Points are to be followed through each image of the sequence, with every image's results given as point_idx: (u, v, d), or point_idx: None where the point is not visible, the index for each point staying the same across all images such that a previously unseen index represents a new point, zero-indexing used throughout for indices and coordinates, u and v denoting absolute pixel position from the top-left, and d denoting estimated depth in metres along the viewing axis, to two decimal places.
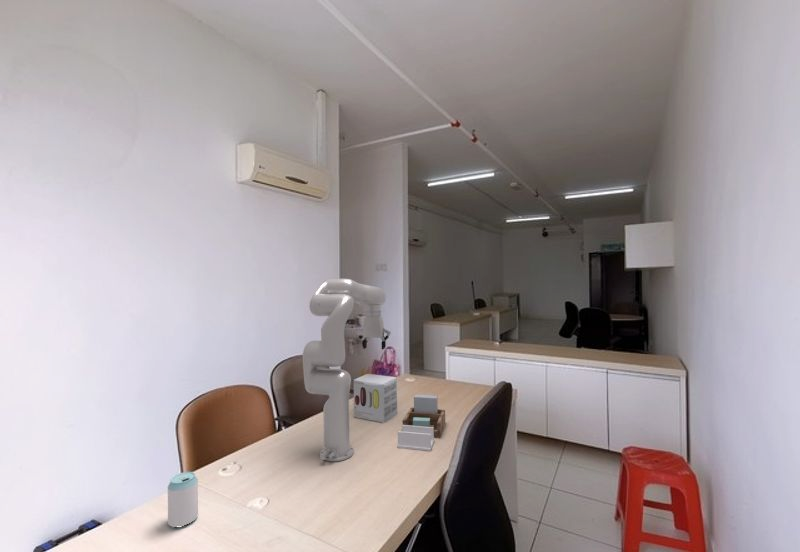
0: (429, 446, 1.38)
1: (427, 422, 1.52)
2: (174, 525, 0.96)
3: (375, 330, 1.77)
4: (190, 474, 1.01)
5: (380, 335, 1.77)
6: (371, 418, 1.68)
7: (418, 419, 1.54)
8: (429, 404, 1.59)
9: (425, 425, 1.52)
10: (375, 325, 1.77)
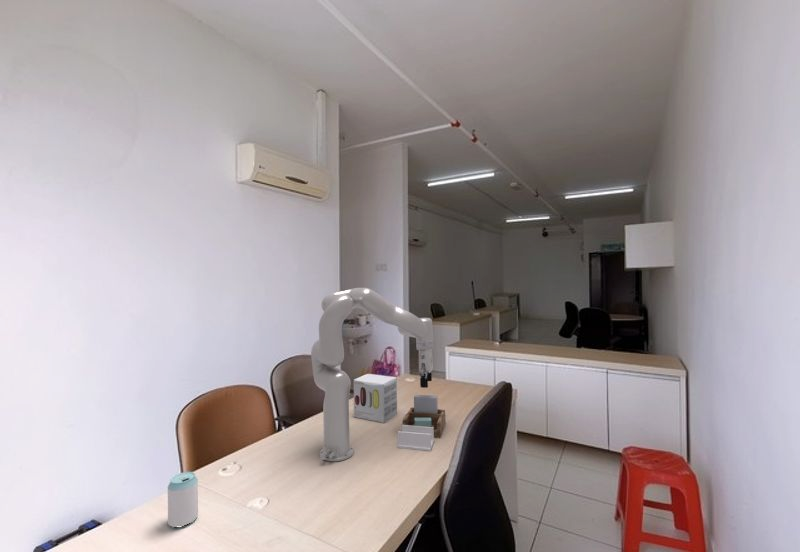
0: (429, 446, 1.38)
1: (429, 422, 1.52)
2: (174, 525, 0.96)
3: (432, 362, 1.63)
4: (190, 474, 1.01)
5: None
6: (371, 418, 1.68)
7: (420, 419, 1.53)
8: (429, 404, 1.59)
9: (427, 425, 1.52)
10: (432, 356, 1.63)
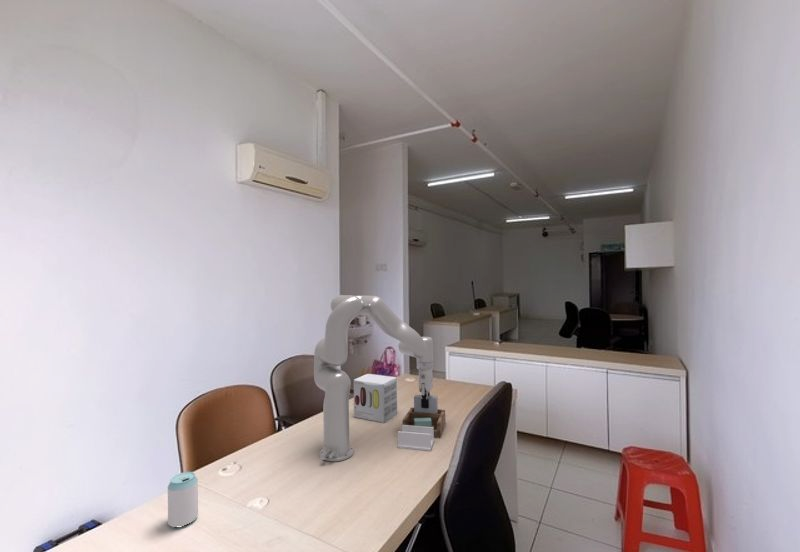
0: (429, 446, 1.38)
1: (429, 422, 1.52)
2: (174, 525, 0.96)
3: (432, 381, 1.63)
4: (190, 474, 1.01)
5: None
6: (371, 418, 1.68)
7: (419, 420, 1.53)
8: (429, 404, 1.59)
9: (427, 425, 1.52)
10: (432, 375, 1.63)
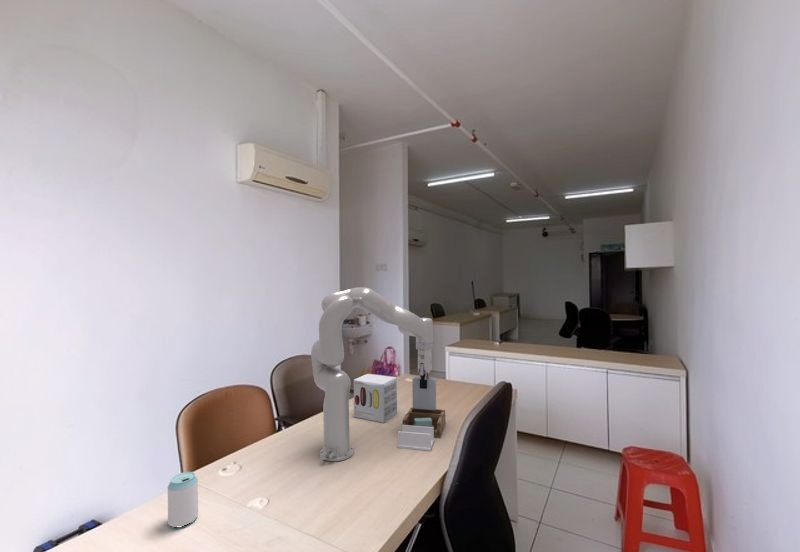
0: (429, 446, 1.38)
1: (430, 422, 1.52)
2: (174, 525, 0.96)
3: (431, 362, 1.62)
4: (190, 474, 1.01)
5: None
6: (371, 418, 1.68)
7: (420, 419, 1.53)
8: (428, 386, 1.59)
9: (428, 425, 1.52)
10: (431, 356, 1.63)
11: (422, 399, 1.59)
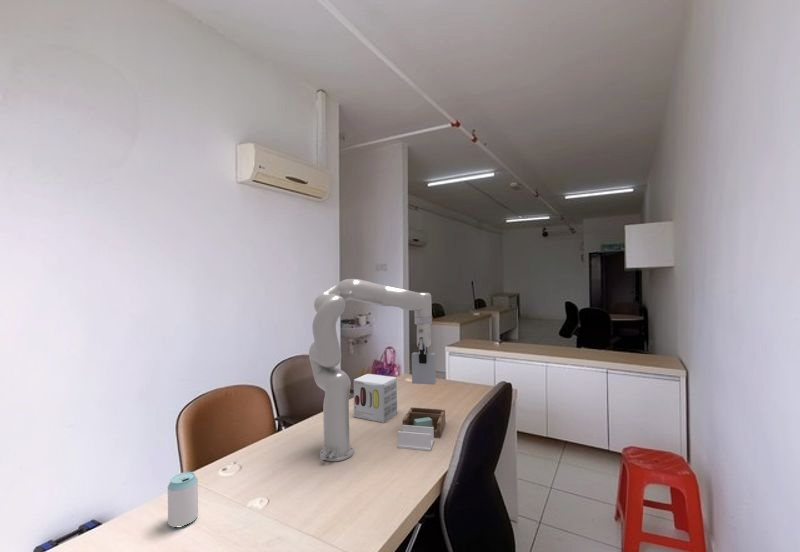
0: (429, 446, 1.38)
1: (430, 421, 1.53)
2: (174, 525, 0.96)
3: (430, 337, 1.61)
4: (190, 474, 1.01)
5: None
6: (371, 418, 1.68)
7: (420, 420, 1.53)
8: (427, 361, 1.57)
9: (428, 425, 1.52)
10: (430, 331, 1.61)
11: (422, 374, 1.58)
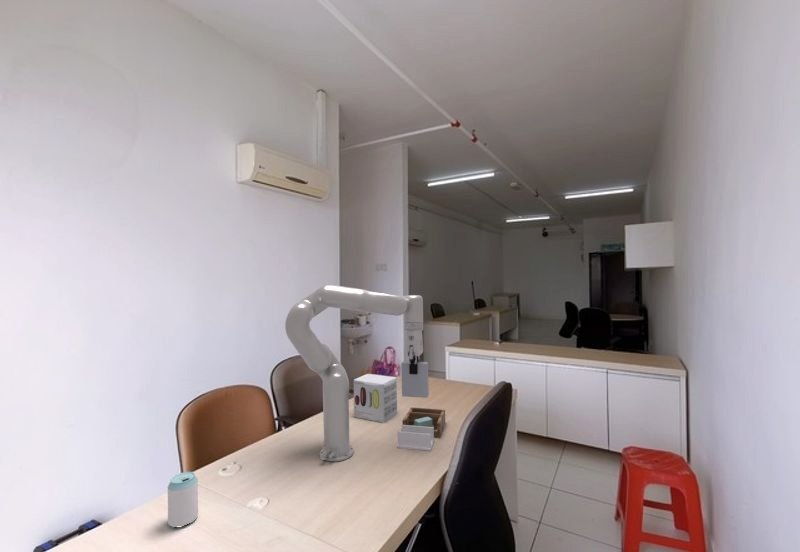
0: (429, 446, 1.38)
1: (430, 421, 1.54)
2: (174, 525, 0.96)
3: (422, 344, 1.45)
4: (190, 474, 1.01)
5: None
6: (371, 418, 1.68)
7: (421, 420, 1.53)
8: (419, 371, 1.41)
9: (429, 424, 1.53)
10: (421, 338, 1.45)
11: (413, 386, 1.42)
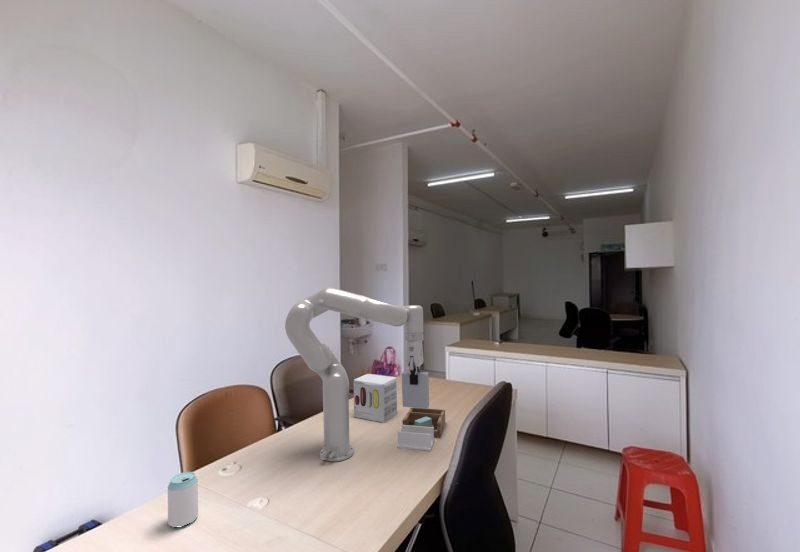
0: (429, 446, 1.38)
1: (430, 420, 1.54)
2: (174, 525, 0.96)
3: (422, 355, 1.45)
4: (190, 474, 1.01)
5: (423, 359, 1.47)
6: (371, 418, 1.68)
7: (421, 420, 1.53)
8: (419, 381, 1.41)
9: (429, 424, 1.54)
10: (422, 348, 1.45)
11: (413, 397, 1.41)
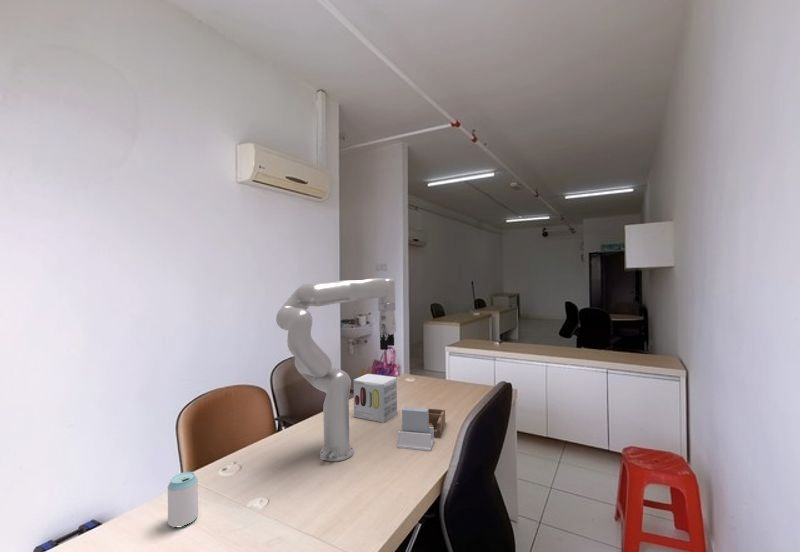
0: (429, 446, 1.38)
1: None
2: (174, 525, 0.96)
3: (394, 324, 1.56)
4: (190, 474, 1.01)
5: (395, 329, 1.58)
6: (371, 418, 1.68)
7: None
8: (419, 418, 1.41)
9: None
10: (394, 319, 1.56)
11: None
